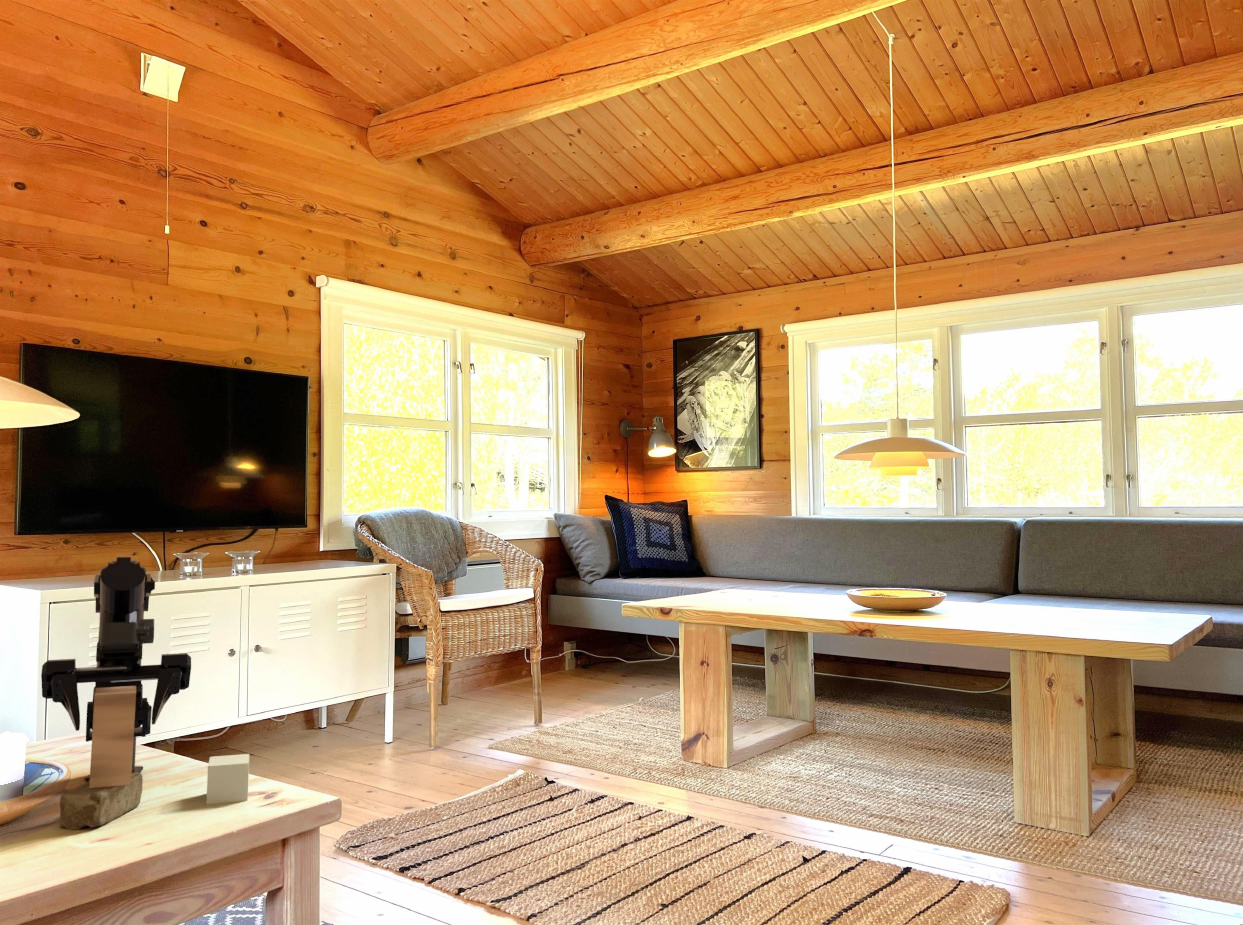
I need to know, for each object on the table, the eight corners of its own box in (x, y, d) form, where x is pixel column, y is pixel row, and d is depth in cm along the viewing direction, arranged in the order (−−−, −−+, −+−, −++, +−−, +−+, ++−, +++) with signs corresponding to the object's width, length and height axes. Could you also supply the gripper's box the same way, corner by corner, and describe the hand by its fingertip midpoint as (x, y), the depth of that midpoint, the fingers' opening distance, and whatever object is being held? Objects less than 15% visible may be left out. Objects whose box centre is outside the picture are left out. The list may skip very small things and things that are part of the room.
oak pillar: (90, 778, 130) (95, 687, 131) (131, 774, 132) (136, 685, 133) (89, 788, 126) (94, 694, 126) (131, 784, 128) (136, 692, 129)
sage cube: (208, 794, 140) (210, 756, 140) (248, 790, 142) (249, 753, 142) (206, 804, 135) (207, 766, 135) (247, 801, 137) (248, 763, 137)
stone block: (144, 805, 134) (146, 770, 134) (96, 833, 123) (98, 794, 123) (105, 804, 134) (107, 769, 135) (54, 832, 123) (55, 793, 123)
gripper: (45, 602, 130) (34, 696, 119) (193, 598, 138) (194, 686, 128) (47, 651, 136) (37, 745, 126) (188, 644, 145) (189, 732, 134)
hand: (116, 725), depth 128 cm, fingers open, 9 cm apart
